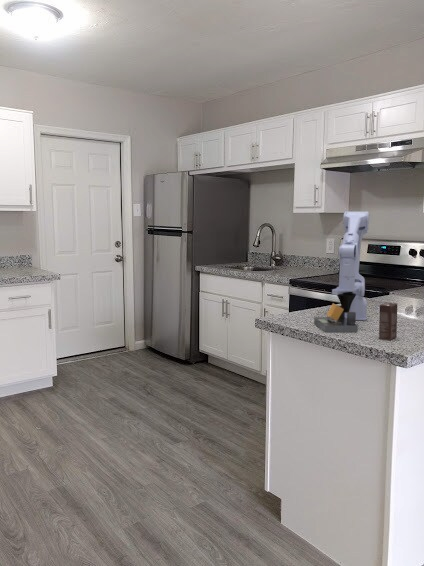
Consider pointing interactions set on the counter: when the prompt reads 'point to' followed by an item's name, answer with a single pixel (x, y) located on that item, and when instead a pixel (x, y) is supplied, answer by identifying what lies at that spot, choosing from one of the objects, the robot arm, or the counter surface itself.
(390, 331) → the box
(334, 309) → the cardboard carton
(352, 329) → the grey flat block
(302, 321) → the counter surface
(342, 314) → the post
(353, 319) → the post
